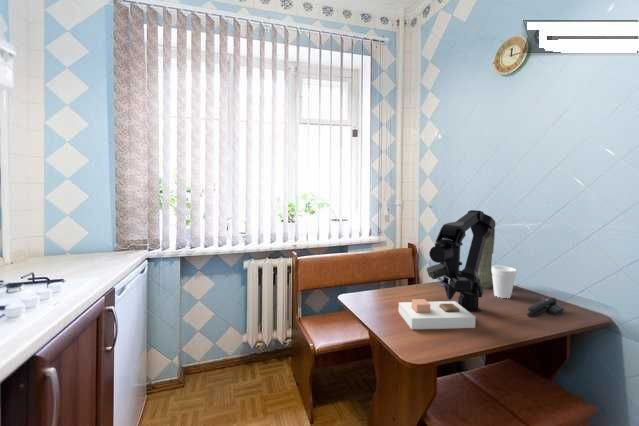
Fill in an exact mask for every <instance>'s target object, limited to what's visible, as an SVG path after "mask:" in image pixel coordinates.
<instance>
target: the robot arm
mask: <svg viewBox="0 0 639 426" xmlns="http://www.w3.org/2000/svg"><path fill="white" fill-rule="evenodd" d="M494 228H495V229H496V221H495V219H494V218H493V217H492V216H490V215H488V214H486V213H484V211H482V210H475V209H471V210H470V209H469V210H468V211H467V213H466V214H464V215H463V216H461V217H460V218H459V219H457V220H456V221H453V222H452V221H451V222H447V223H444V224H443V225H442V227H441V228H440V230H439V233H438V235H437V237H436V239H435V243H434V246H432V247H431V248H430V250H429V254H428V255H429V258H430V259H431V260H432V262H434V263H437V264H434V265H431V266H429V267H426V272H427V275H428V277H429V278H431V279H432V280H437V279H438V280H439V282H440V281H441V282H442V283H443V284H444V290H445V294H446V298H447V299H448V300H452V299H453V298H454V295H455V294H456V293H459V295H458V302H457V303H458V304H459V305H461V306H462V307H463V308H465V309H466V310H467V311H468V312H481V309H480V308H479V298H483V294H484V288H482V287H481V285H480V278H479V275H478V268H479V264H480V260H481V256H482V252H483V248H484V244H485V241H486V238H488V237H489V236H490V235H491V234H492V232H493V229H494ZM469 229H470V231H471V232H472V239H471V243H470V246H469V250H468V255H467V258H466V262H465V265H464V268H463V269H461V270H460V266H463V262H462V261H460V260H461V247H462V246H463V245H464V243H463V240H464V239H465V237H466V236H467V235H466V231H468V230H469ZM440 277H441V278H440Z"/></svg>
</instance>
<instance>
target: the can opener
mask: <svg viewBox="0 0 639 426" xmlns="http://www.w3.org/2000/svg"><path fill="white" fill-rule="evenodd" d="M527 310H528V313H526V316H527V317H529V318H535V317H538V316H539V315H542V314H543V313H545V312H548V313H549V314H552V315H555V316H558V315H557V314H559V315H560V313H561V314H562V313H563V312H564V308H563V307H562V306H560V305H559V304H557V299H556V298H555V297H549V298H545V297H541V299H540V301H538V302H536V303H534V304H532V305H531V306H529V307H528V308H527Z"/></svg>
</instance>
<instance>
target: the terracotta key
mask: <svg viewBox="0 0 639 426" xmlns="http://www.w3.org/2000/svg"><path fill="white" fill-rule="evenodd" d="M411 302H412V309H413V310H414V311H415V312H416V313H430V304H429V303H428V302H429V301H427V299H425V298H422V299H421V298H417V299H414V298H413V299H411Z"/></svg>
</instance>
